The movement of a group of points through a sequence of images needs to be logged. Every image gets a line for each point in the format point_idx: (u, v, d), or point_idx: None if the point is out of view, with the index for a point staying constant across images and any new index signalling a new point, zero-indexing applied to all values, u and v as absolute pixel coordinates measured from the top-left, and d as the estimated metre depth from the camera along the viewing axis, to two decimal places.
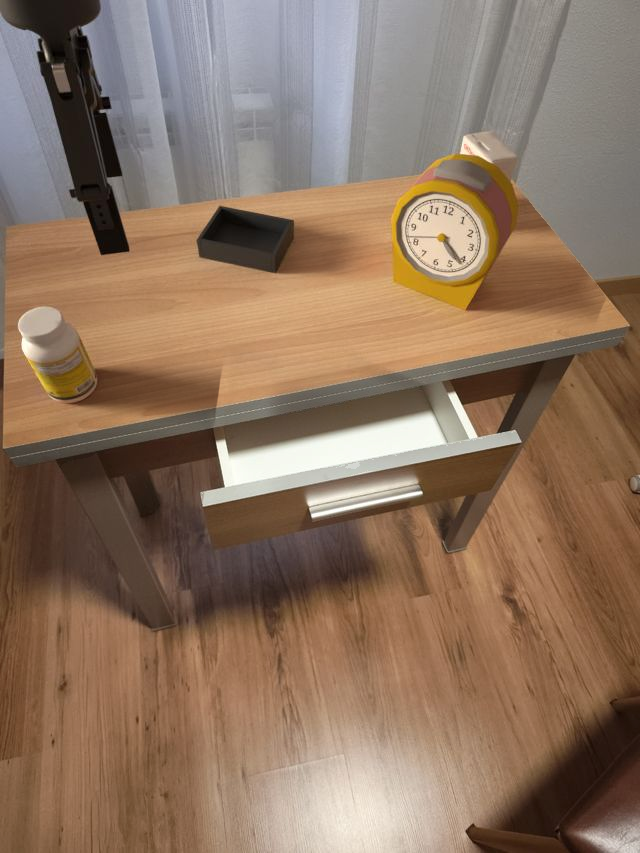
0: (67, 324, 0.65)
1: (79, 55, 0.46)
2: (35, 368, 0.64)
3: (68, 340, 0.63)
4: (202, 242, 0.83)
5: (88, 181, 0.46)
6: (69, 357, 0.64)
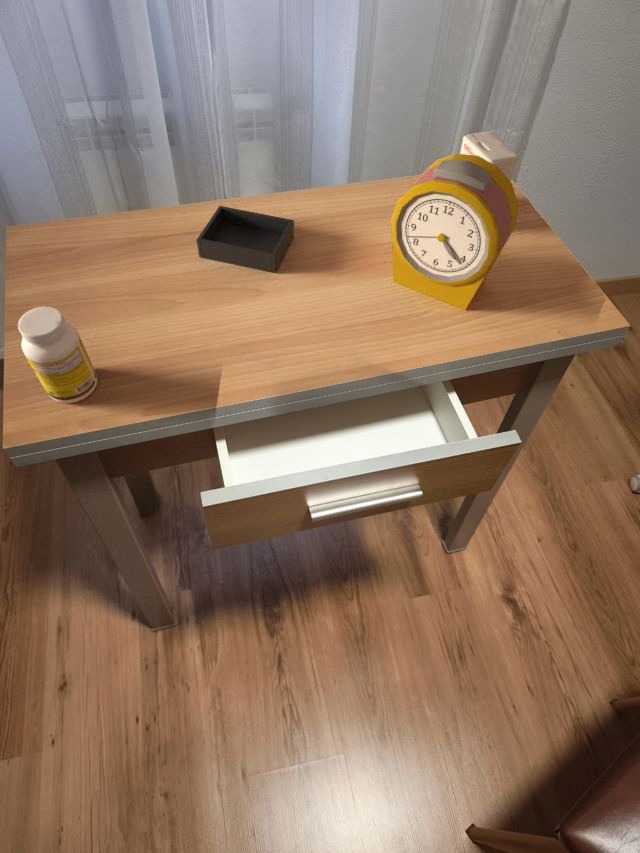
0: (67, 324, 0.65)
1: None
2: (35, 368, 0.64)
3: (68, 340, 0.63)
4: (202, 242, 0.83)
5: None
6: (69, 357, 0.64)
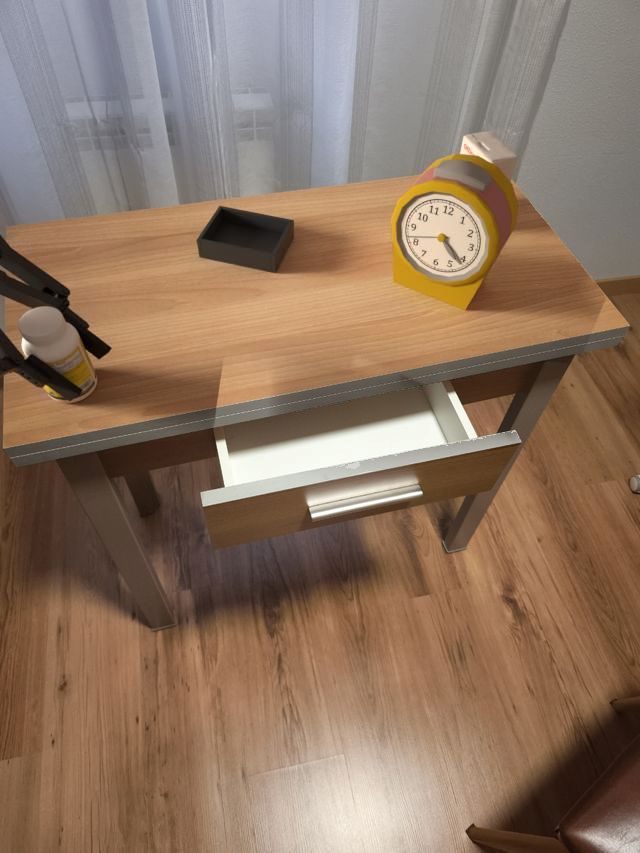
0: (67, 324, 0.65)
1: None
2: None
3: (68, 340, 0.63)
4: (202, 242, 0.83)
5: None
6: (69, 357, 0.64)
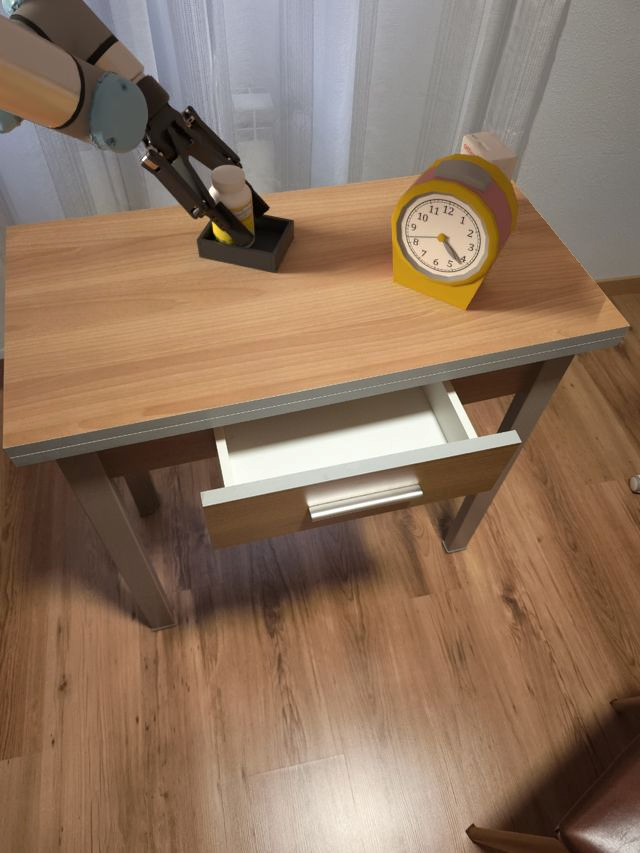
0: None
1: None
2: None
3: (246, 192, 0.80)
4: (202, 242, 0.83)
5: None
6: (246, 206, 0.81)
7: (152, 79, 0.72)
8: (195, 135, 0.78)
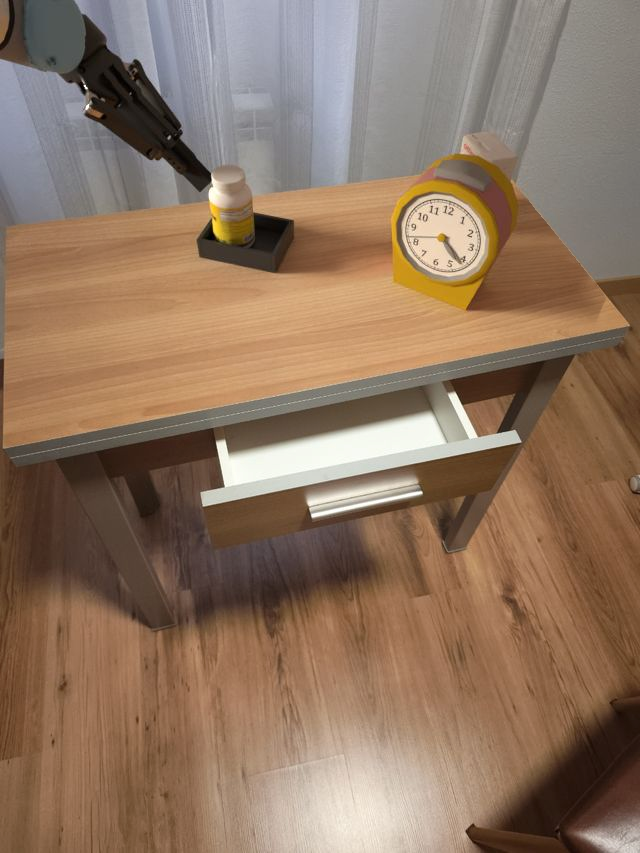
0: None
1: None
2: (218, 215, 0.81)
3: (246, 192, 0.80)
4: (202, 242, 0.83)
5: None
6: (246, 206, 0.81)
7: (86, 18, 0.68)
8: (134, 85, 0.74)
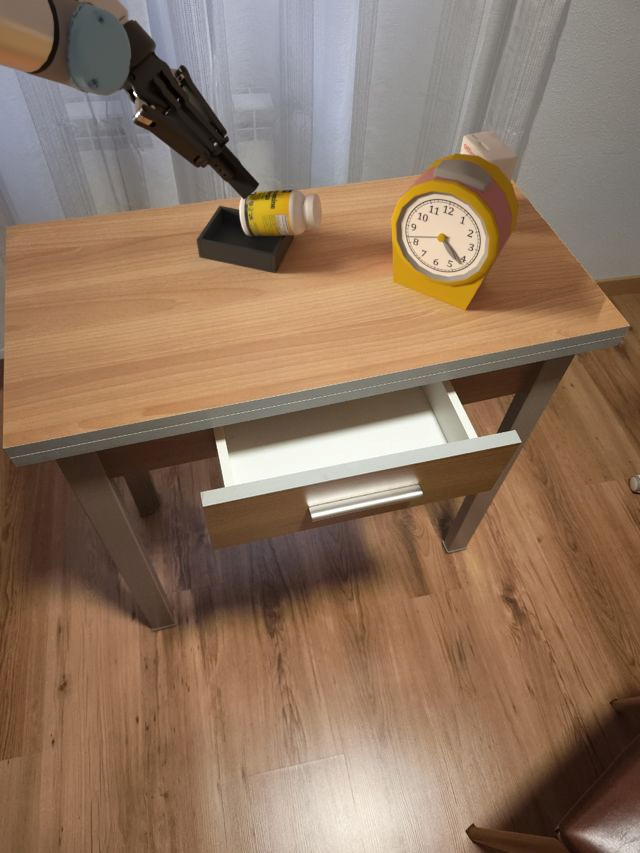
0: None
1: None
2: (278, 212, 0.80)
3: (304, 229, 0.83)
4: (202, 242, 0.83)
5: (216, 128, 0.78)
6: (293, 234, 0.83)
7: (136, 24, 0.67)
8: (182, 92, 0.73)
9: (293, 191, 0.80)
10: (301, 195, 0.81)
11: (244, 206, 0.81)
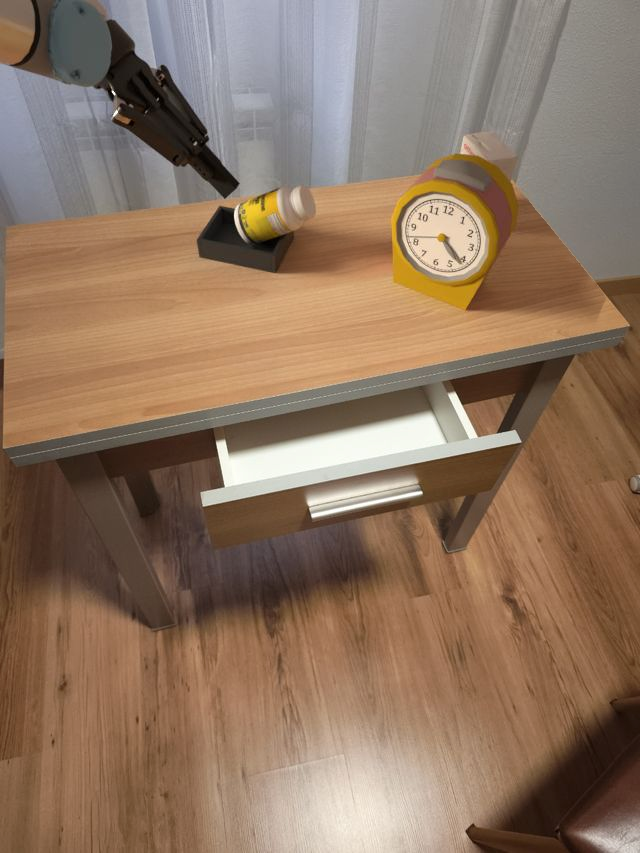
0: None
1: None
2: (269, 213, 0.80)
3: (301, 223, 0.83)
4: (202, 242, 0.83)
5: None
6: (291, 231, 0.83)
7: (115, 24, 0.68)
8: (161, 91, 0.73)
9: (280, 188, 0.80)
10: (289, 190, 0.80)
11: (238, 216, 0.82)
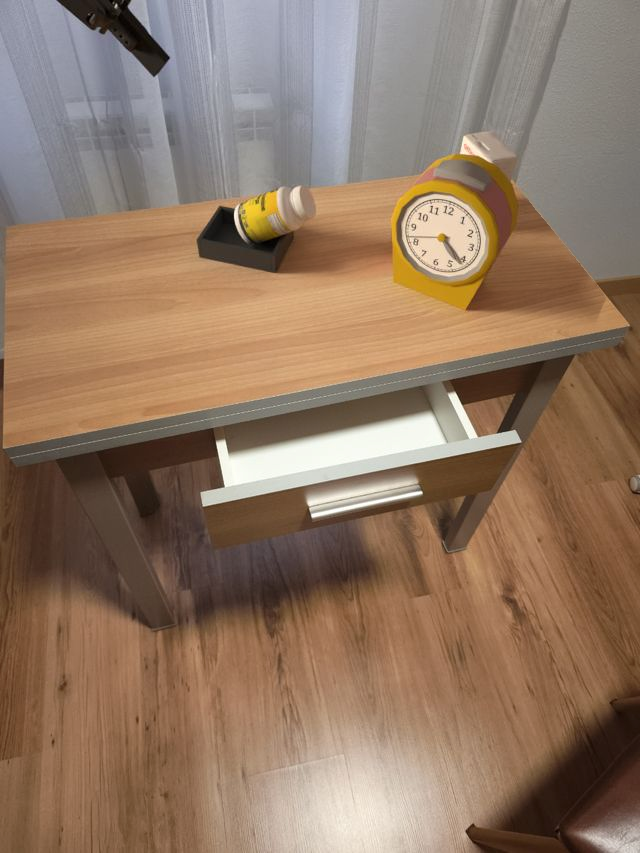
0: None
1: None
2: (269, 213, 0.80)
3: (301, 223, 0.83)
4: (202, 242, 0.83)
5: None
6: (291, 231, 0.83)
7: None
8: None
9: (280, 188, 0.80)
10: (289, 190, 0.80)
11: (238, 216, 0.82)
